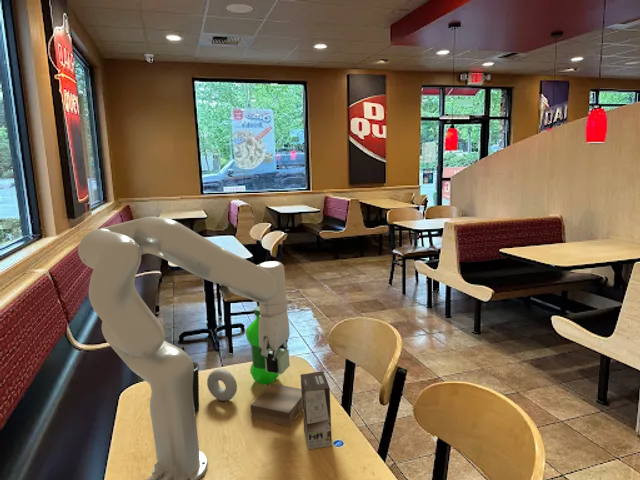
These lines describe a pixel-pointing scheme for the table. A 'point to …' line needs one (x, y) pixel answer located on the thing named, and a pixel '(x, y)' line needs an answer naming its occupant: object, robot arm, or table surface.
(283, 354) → the green block
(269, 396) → the walnut plinth
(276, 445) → the table surface
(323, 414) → the coffee box
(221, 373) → the donut
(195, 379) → the drinking cup
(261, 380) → the plastic bottle
